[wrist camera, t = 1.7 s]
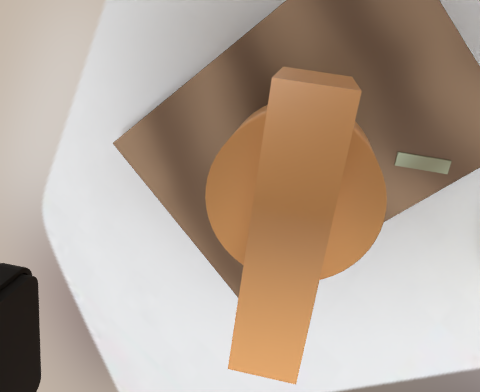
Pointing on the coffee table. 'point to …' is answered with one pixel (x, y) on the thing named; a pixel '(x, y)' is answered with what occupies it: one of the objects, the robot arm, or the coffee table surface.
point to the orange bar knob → (293, 211)
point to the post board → (334, 62)
